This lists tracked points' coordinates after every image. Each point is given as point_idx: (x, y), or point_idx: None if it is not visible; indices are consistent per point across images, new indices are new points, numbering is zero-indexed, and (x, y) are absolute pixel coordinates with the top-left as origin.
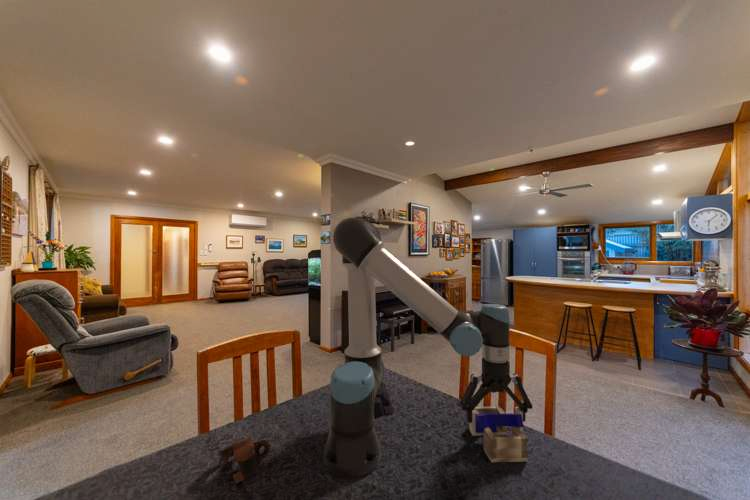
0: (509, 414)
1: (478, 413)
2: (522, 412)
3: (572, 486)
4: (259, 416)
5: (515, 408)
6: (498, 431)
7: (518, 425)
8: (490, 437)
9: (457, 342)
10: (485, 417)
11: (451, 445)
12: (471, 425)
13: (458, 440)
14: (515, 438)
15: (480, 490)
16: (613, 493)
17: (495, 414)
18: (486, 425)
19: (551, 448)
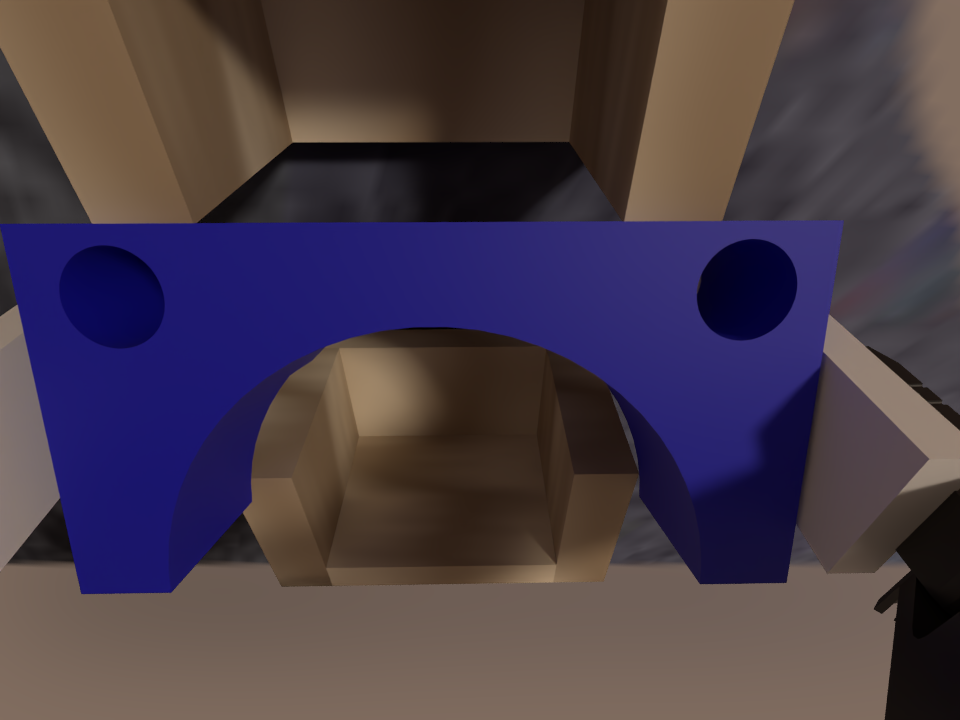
0: (664, 448)
1: (146, 138)
2: (862, 567)
3: (670, 544)
4: None
5: (905, 435)
6: (526, 129)
7: (650, 505)
8: (279, 573)
9: None
10: (250, 395)
11: (3, 276)
12: None
13: (53, 205)
14: (501, 582)
15: (240, 555)
16: (804, 564)
17: (457, 325)
18: (288, 375)
19: (868, 328)
